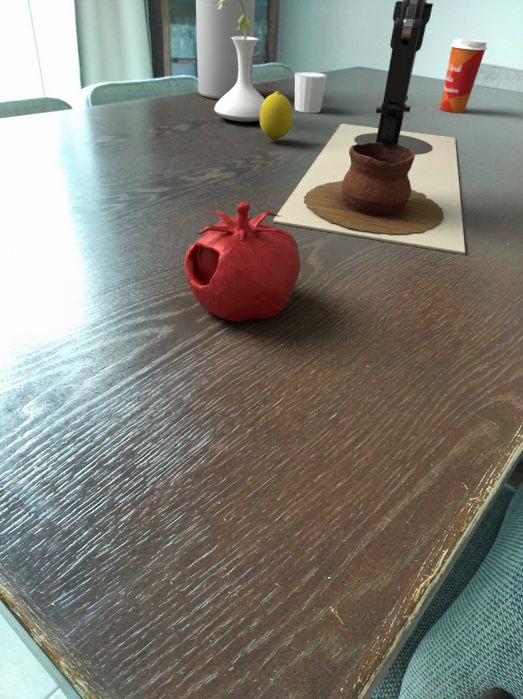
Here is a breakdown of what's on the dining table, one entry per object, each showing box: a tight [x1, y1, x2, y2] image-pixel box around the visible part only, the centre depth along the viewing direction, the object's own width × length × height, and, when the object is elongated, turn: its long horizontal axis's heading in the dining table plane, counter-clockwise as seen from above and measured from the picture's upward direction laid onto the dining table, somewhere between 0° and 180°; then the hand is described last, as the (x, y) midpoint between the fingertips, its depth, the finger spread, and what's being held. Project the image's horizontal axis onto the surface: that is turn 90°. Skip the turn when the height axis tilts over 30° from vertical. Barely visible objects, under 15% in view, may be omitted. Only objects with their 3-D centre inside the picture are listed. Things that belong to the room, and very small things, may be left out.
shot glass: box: [294, 71, 328, 114], centre depth 106 cm, size 7×7×7 cm
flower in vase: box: [214, 0, 266, 123], centre depth 90 cm, size 13×11×25 cm
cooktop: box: [272, 123, 466, 255], centre depth 76 cm, size 22×52×1 cm, turn 164°
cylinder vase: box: [195, 0, 256, 101], centre depth 108 cm, size 12×12×25 cm
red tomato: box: [183, 201, 301, 322], centre depth 42 cm, size 10×10×9 cm
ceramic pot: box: [304, 143, 444, 234], centre depth 62 cm, size 18×18×7 cm
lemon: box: [259, 90, 293, 143], centre depth 84 cm, size 6×6×8 cm
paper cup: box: [439, 38, 488, 114], centre depth 112 cm, size 8×8×14 cm
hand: (382, 166), depth 65 cm, fingers closed
